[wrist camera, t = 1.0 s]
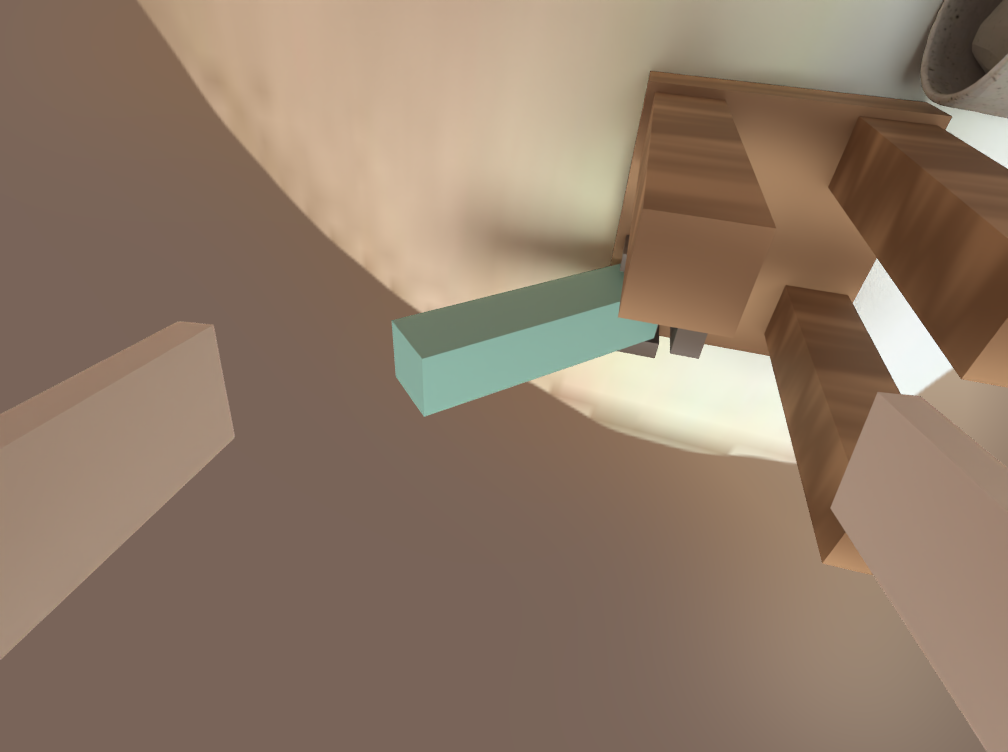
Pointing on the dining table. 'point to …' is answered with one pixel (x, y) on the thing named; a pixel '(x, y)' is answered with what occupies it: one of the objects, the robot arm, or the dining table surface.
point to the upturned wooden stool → (811, 249)
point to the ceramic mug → (968, 57)
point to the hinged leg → (511, 338)
